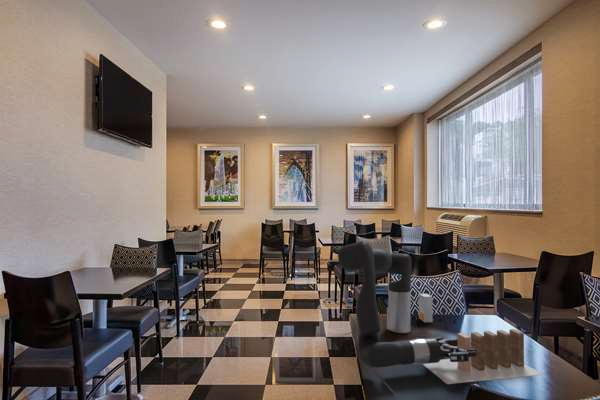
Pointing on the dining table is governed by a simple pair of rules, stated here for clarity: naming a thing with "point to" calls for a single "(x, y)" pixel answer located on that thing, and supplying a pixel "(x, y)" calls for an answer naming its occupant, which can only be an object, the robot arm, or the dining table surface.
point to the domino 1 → (478, 351)
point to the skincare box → (425, 308)
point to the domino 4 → (517, 347)
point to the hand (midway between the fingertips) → (467, 347)
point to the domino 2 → (491, 349)
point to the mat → (476, 372)
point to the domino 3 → (504, 348)
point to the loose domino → (464, 343)
